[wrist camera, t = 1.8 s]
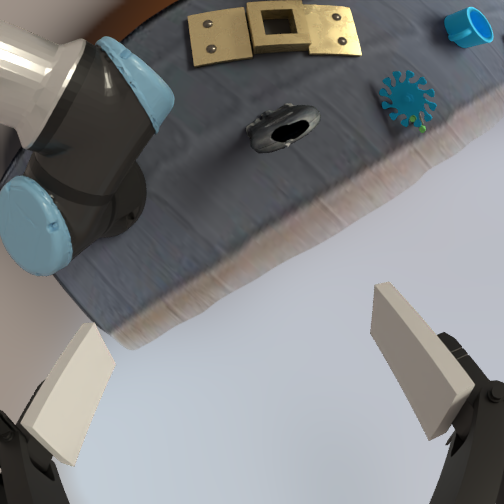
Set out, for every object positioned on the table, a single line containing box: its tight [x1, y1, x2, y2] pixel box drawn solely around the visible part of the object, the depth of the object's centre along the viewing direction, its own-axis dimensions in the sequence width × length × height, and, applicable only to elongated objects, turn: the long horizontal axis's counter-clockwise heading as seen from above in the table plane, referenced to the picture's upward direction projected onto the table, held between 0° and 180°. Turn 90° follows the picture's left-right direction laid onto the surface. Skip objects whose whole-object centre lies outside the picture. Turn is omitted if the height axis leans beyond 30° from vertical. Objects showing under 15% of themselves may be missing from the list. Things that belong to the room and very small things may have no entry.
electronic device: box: [246, 103, 321, 153], centre depth 33 cm, size 9×6×15 cm, turn 115°
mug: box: [444, 7, 493, 48], centre depth 28 cm, size 12×8×8 cm
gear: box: [379, 70, 437, 133], centre depth 36 cm, size 11×6×10 cm
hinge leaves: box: [188, 0, 362, 68], centre depth 32 cm, size 27×10×4 cm, turn 98°
